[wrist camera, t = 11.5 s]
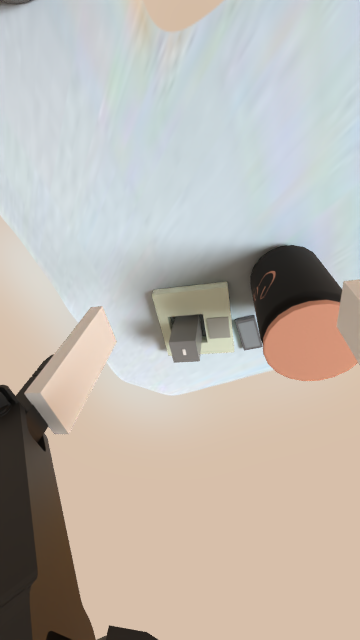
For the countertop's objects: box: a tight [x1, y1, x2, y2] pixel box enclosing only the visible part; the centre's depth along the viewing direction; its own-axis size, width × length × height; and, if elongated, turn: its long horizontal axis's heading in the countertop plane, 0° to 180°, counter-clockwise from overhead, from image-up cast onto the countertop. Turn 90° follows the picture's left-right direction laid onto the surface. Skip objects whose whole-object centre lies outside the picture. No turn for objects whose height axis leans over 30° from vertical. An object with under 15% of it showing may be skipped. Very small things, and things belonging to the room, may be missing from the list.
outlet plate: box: [152, 282, 234, 356], centre depth 49 cm, size 14×13×2 cm
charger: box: [169, 314, 202, 362], centre depth 48 cm, size 4×4×8 cm
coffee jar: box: [251, 245, 358, 381], centre depth 36 cm, size 11×11×18 cm
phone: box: [235, 315, 263, 350], centre depth 50 cm, size 7×4×1 cm, turn 21°
